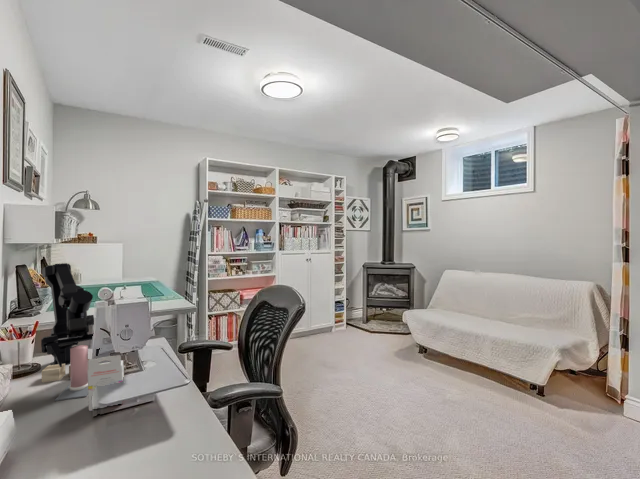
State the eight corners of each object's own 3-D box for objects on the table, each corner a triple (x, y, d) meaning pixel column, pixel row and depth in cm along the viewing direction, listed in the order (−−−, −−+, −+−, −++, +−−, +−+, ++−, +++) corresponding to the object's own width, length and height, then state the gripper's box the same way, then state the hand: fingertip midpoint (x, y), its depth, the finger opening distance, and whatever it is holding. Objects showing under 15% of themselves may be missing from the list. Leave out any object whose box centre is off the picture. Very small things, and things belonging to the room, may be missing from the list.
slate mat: (73, 381, 113) (73, 379, 113) (100, 377, 115) (100, 376, 115) (54, 401, 99) (54, 399, 99) (86, 396, 102) (86, 395, 102)
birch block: (48, 376, 117) (48, 365, 117) (65, 374, 118) (65, 363, 118) (41, 382, 112) (41, 371, 112) (59, 380, 114) (59, 369, 113)
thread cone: (73, 384, 109) (72, 345, 109) (91, 382, 111) (91, 344, 110) (66, 392, 104) (66, 350, 104) (85, 389, 106) (85, 349, 105)
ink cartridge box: (124, 397, 101) (124, 349, 101) (122, 404, 97) (122, 355, 97) (91, 403, 98) (90, 354, 98) (87, 411, 93) (86, 360, 93)
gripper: (40, 312, 104) (39, 357, 96) (110, 304, 116) (115, 343, 107) (42, 331, 110) (41, 375, 102) (108, 321, 122) (112, 360, 113)
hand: (79, 362), depth 106 cm, fingers open, 9 cm apart
